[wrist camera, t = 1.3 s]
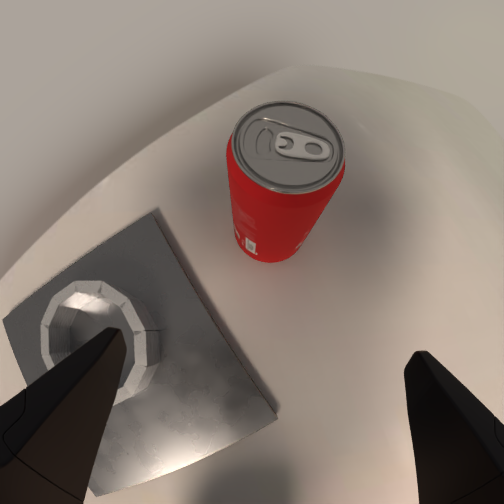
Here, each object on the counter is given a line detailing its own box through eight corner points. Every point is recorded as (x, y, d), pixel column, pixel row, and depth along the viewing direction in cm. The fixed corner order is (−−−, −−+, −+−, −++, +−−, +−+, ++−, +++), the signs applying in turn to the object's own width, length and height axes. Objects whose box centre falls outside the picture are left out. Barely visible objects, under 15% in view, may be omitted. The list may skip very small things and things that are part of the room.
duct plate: (276, 415, 20) (283, 432, 16) (100, 492, 17) (81, 511, 13) (154, 217, 23) (138, 196, 19) (8, 320, 21) (-19, 316, 17)
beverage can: (241, 196, 24) (239, 89, 12) (305, 208, 24) (351, 110, 12) (228, 259, 23) (211, 186, 11) (297, 271, 22) (348, 211, 11)
